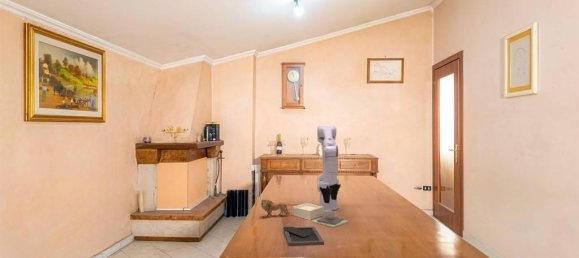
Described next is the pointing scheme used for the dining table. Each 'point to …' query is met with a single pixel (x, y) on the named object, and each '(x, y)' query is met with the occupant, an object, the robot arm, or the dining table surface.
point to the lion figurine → (273, 207)
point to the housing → (307, 211)
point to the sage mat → (331, 224)
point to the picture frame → (302, 236)
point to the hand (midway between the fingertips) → (330, 201)
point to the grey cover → (330, 217)
